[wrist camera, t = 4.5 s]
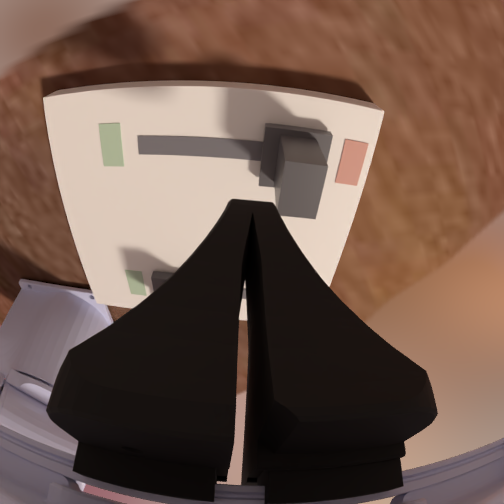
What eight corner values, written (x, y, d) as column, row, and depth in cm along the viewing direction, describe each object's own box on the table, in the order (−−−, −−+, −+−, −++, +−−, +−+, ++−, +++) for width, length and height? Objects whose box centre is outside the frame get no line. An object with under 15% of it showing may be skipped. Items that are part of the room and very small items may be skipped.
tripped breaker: (258, 180, 15) (258, 220, 13) (265, 122, 13) (266, 151, 11) (318, 186, 15) (330, 227, 13) (330, 131, 13) (348, 162, 11)
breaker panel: (102, 289, 24) (96, 303, 22) (57, 90, 13) (42, 97, 12) (312, 308, 24) (314, 324, 23) (374, 103, 14) (384, 111, 13)
